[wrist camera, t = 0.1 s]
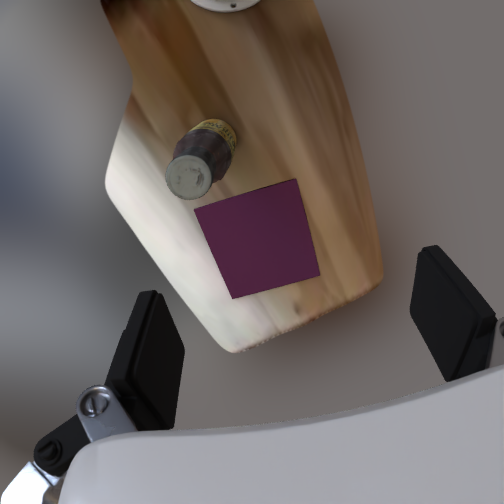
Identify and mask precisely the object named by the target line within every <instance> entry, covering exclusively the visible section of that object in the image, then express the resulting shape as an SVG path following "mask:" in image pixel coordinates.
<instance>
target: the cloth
mask: <svg viewBox="0 0 504 504" xmlns="http://www.w3.org/2000/svg"><path fill="white" fill-rule="evenodd" d="M194 212H195V214H196V217H197V219H198V221H199V224H200V226H201V228H202V231H203V233H204V235H205V238H206V240H207V242H208V245H209V247H210V249H211V252H212V254H213V256H214V259H215V261H216V263H217V265H218V268H219V270H220V272H221V275H222V277H223V279H224V281H225V284H226V286H227V288H228V290H229V293H230V295H231V297H232V299H235V298H239V297H243V296H246V295H250V294H254V293H258V292H262V291H265V290H269V289H273V288H277V287H280V286H284V285H288V284H291V283H295V282H298V281H302V280H306V279H309V278H313V277H316V276H320V272H319V268H318V263H317V259H316V255H315V251H314V247H313V242H312V238H311V234H310V230H309V226H308V222H307V218H306V214H305V210H304V207H303V203H302V199H301V195H300V191H299V188H298V184H297V180H296V179H292V180H289V181H285V182H282V183H278V184H275V185H271V186H268V187H264V188H261V189H258V190H254V191H251V192H248V193H244V194H241V195H238V196H235V197H231V198H228V199H225V200H222V201H219V202H215V203H212V204H209V205H206V206H203V207H200V208H197V209H194Z"/></svg>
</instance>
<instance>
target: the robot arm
mask: <svg viewBox="0 0 504 504" xmlns="http://www.w3.org/2000/svg"><path fill="white" fill-rule="evenodd" d="M191 1H192V2H193V3H194V4H196V5H198V6H200V7H201V8H204V9H207V10H209V11H214V12H236V11H240V10H244V9H247V8H249V7H251V6H253V5H255V4H256V3H258V2H259V1H261V0H191ZM233 5H235V6H236V7H235V8H232V6H233ZM410 314H411V317H412V319H413V321H414V323H415V324H416V326H417V328H418V330H419V331H420V333H421V335H422V337H423V339H424V341H425V343H426V344H427V346H428V348H429V350H430V352H431V354H432V356H433V357H434V359H435V362H436V363H437V365H438V367H439V369H440V371H441V373H442V375H443V377H444V379H445V381H446V382H448V383H445V384H442V385H439V386H436V387H433V388H430V389H427V390H424V391H420V392H417V393H413V394H410V395H406V396H403V397H400V398H396V399H392V400H388V401H384V402H381V403H376V404H372V405H368V406H364V407H360V408H355V409H351V410H346V411H341V412H336V413H331V414H326V415H320V416H315V417H309V418H302V419H296V420H289V421H282V422H274V423H267V424H258V425H248V426H236V427H223V428H208V429H187V430H170V429H172V428H173V427H174V423H175V415H176V408H177V401H178V394H179V387H180V380H181V374H182V367H183V361H184V354H185V349H184V345H183V343H182V340H181V338H180V335H179V333H178V331H177V328H176V326H175V324H174V322H173V319H172V317H171V314H170V312H169V310H168V307H167V305H166V302H165V300H164V297H163V295H162V294H160V293H159V294H158V293H157V291H156V290H152V291H143V292H140V293H139V295H138V298H137V300H136V303H135V306H134V308H133V311H132V313H131V316H130V318H129V321H128V324H127V327H126V329H125V330H124V331H123V333H122V336H121V338H120V341H119V343H118V346H117V349H116V352H115V355H114V358H113V361H112V363H111V366H110V369H109V372H108V375H107V378H106V382H105V384H104V385H94V386H91V387H89V388H87V389H86V390H85V391H84V392H82V394H81V395H80V396H79V398H78V400H77V402H76V411H77V414H76V415H75V416H73V417H72V418H71V419H69V420H68V421H66V422H65V423H63V424H62V425H61V426H59V427H58V428H56V429H55V430H53V431H52V432H50V433H49V434H47V435H46V436H45V437H43V438H42V439H41V440H40V441H39V442H38V443H37V445H36V447H35V449H34V462H33V463H31V462H30V461H29V462H28V463H27V465H26V466H25V467H24V468H23V469H22V470H21V472H20V473H19V474H18V475H17V476H16V477H15V479H14V480H13V481H12V482H11V484H10V485H9V486H8V487H7V489H6V490H5V491H4V492H3V494H2V497H1V504H504V317H502V318H501V319H499V320H497V318H496V317H495V314H496V313H495V312H494V311H493V309H492V308H491V307H490V306H489V304H488V303H487V302H486V300H485V299H484V298H483V297H482V296H481V294H480V293H479V292H478V291H477V289H476V288H475V287H474V286H473V285H472V283H471V282H470V281H469V280H468V279H467V277H466V276H465V275H464V274H463V273H462V272H461V270H460V269H459V268H458V267H457V266H456V265H455V264H454V263H453V261H452V260H451V259H450V258H449V257H448V256H447V255H446V254H445V252H444V251H443V250H442V249H441V248H440V247H439V246H438V245H434V246H428V247H424V248H423V249H422V251H421V252H419V253H418V258H417V265H416V273H415V279H414V286H413V292H412V298H411V304H410Z"/></svg>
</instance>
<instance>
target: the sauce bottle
mask: <svg viewBox="0 0 504 504" xmlns="http://www.w3.org/2000/svg"><path fill="white" fill-rule="evenodd" d="M236 142H237V139H236V135H235V132H234V130H233V129H232V127H231V126H230V125H229V124H228V123H226V122H224V121H222V120H219V119H209V120H205V121H203V122H201V123H200V124H199V125H197V126H196V127H194V128H193V129H192V130H190V131H189V132H188V133H187V134H185V136H184V137H183V138H182V139H181V140H180V141H178V142H177V145H176V147H175V150H174V153H173V160H172V161H171V163H170V164H169V166H168V168H167V171H166V182H167V186H168V187H169V189H170V191H171V192H172V193H173V194H175V195H176V196H178V197H179V198H181V199H185V200H192V199H197V198H200V197H202V196H203V195H205V194H206V193H207V192H208V190H209V189H210V187H211V186H212V183H215V182H217V181H218V180H221V179H222V178H223V177H224V175H225V173H226V171H227V169H228V168H229V166H230V164H231V161H232V158H233V155H234V151H235V148H236Z"/></svg>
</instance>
